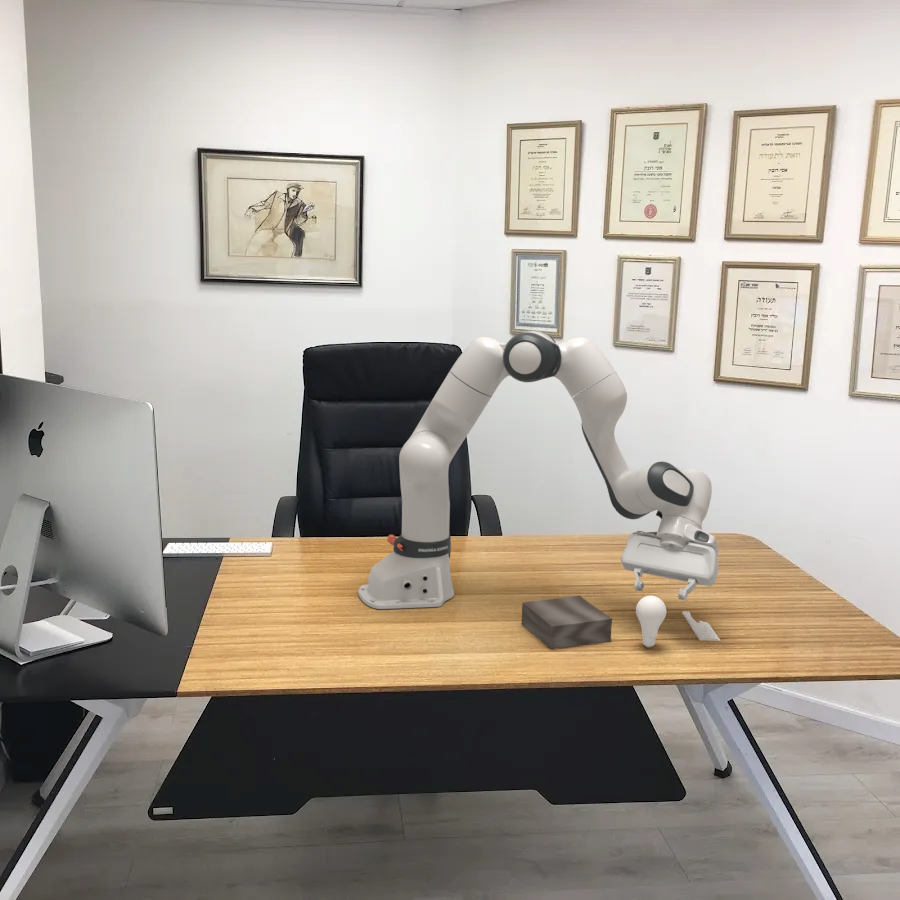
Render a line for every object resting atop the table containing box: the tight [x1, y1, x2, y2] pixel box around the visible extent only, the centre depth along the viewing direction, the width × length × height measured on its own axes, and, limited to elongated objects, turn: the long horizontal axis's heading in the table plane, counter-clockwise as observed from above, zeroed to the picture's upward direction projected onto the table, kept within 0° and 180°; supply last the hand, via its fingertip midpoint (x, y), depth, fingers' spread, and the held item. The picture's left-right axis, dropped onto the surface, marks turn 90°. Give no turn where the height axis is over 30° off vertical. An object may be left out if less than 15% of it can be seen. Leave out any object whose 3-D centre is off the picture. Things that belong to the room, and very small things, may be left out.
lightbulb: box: [635, 595, 667, 648], centre depth 192 cm, size 6×6×11 cm
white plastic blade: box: [681, 610, 721, 642], centre depth 204 cm, size 5×15×1 cm, turn 0°
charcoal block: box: [521, 595, 613, 650], centre depth 198 cm, size 14×14×5 cm
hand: (659, 594), depth 195 cm, fingers open, 8 cm apart
